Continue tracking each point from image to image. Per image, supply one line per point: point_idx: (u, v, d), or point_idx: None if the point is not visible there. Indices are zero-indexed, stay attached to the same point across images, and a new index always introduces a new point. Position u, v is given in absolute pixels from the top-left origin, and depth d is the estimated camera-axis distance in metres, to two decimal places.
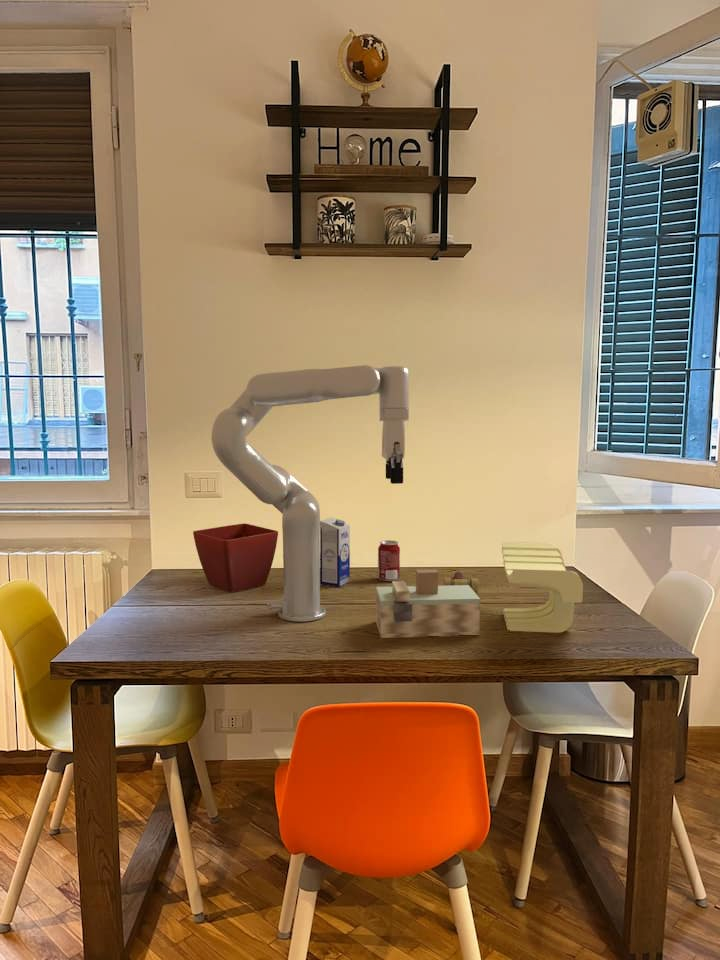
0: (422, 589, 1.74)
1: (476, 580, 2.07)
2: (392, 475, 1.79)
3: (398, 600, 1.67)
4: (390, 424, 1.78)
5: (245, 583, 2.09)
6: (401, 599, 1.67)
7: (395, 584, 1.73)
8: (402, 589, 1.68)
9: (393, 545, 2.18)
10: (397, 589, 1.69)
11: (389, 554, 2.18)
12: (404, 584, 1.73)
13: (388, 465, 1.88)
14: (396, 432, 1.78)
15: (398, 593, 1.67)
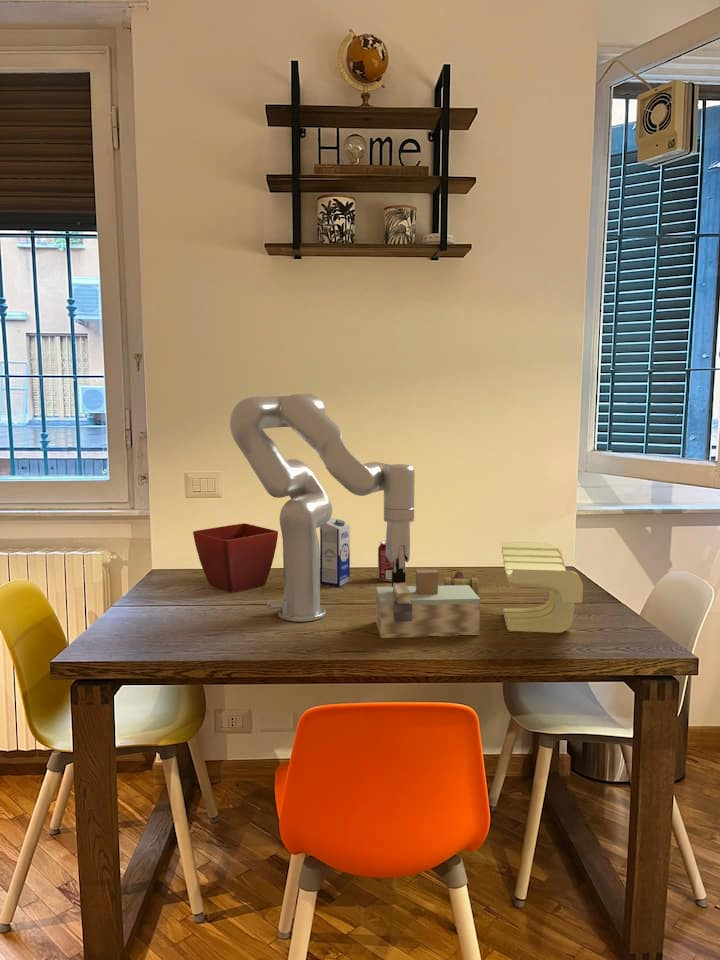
0: (422, 589, 1.74)
1: (476, 579, 2.07)
2: (394, 580, 1.75)
3: (399, 602, 1.66)
4: (395, 526, 1.70)
5: (245, 583, 2.09)
6: (401, 601, 1.66)
7: (396, 585, 1.72)
8: (403, 591, 1.67)
9: None
10: (398, 591, 1.67)
11: None
12: (405, 586, 1.71)
13: None
14: (401, 535, 1.70)
15: (399, 595, 1.66)
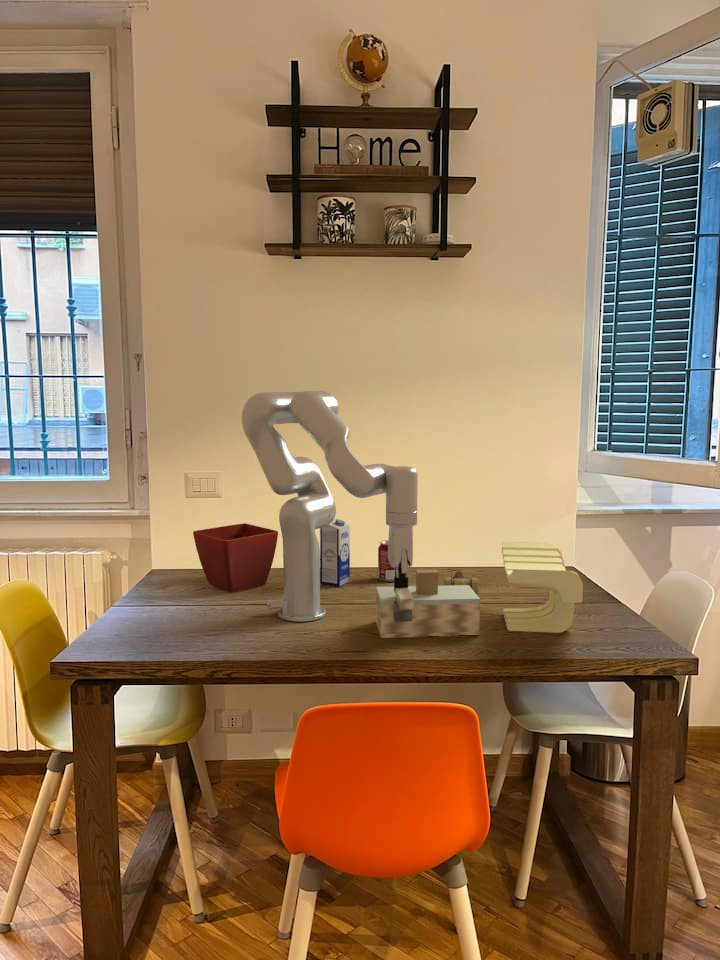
0: (422, 589, 1.74)
1: (476, 579, 2.08)
2: (396, 585, 1.71)
3: (402, 608, 1.61)
4: (398, 530, 1.65)
5: (245, 583, 2.09)
6: (404, 607, 1.61)
7: (398, 591, 1.67)
8: (406, 597, 1.62)
9: None
10: (400, 596, 1.62)
11: None
12: (408, 591, 1.67)
13: None
14: (404, 539, 1.65)
15: (402, 601, 1.61)
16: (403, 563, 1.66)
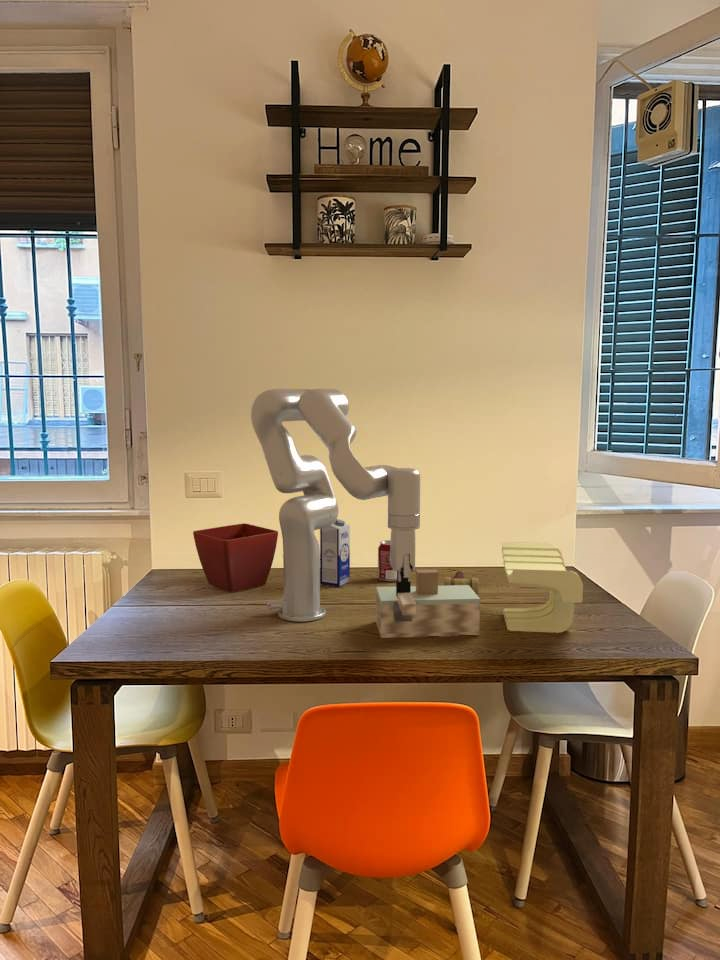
0: (422, 589, 1.74)
1: (476, 579, 2.08)
2: (398, 589, 1.67)
3: (404, 613, 1.57)
4: (400, 533, 1.61)
5: (245, 583, 2.09)
6: (407, 613, 1.57)
7: (400, 595, 1.63)
8: (408, 602, 1.59)
9: None
10: (403, 602, 1.59)
11: (389, 554, 2.18)
12: (410, 596, 1.63)
13: None
14: (406, 543, 1.61)
15: (404, 606, 1.57)
16: (405, 567, 1.62)
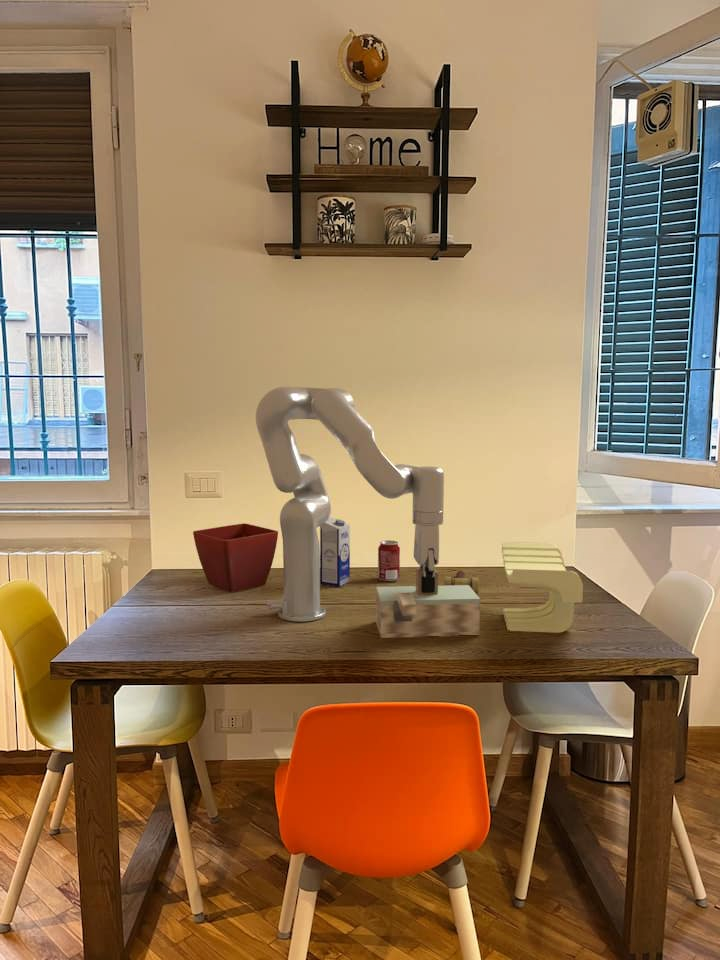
0: None
1: (477, 579, 2.08)
2: (423, 584, 1.73)
3: (404, 614, 1.57)
4: (424, 529, 1.69)
5: (245, 583, 2.09)
6: (407, 613, 1.57)
7: (401, 596, 1.63)
8: (408, 602, 1.58)
9: (393, 545, 2.18)
10: (403, 602, 1.58)
11: (389, 554, 2.18)
12: (410, 596, 1.63)
13: None
14: (430, 538, 1.69)
15: (404, 606, 1.57)
16: None
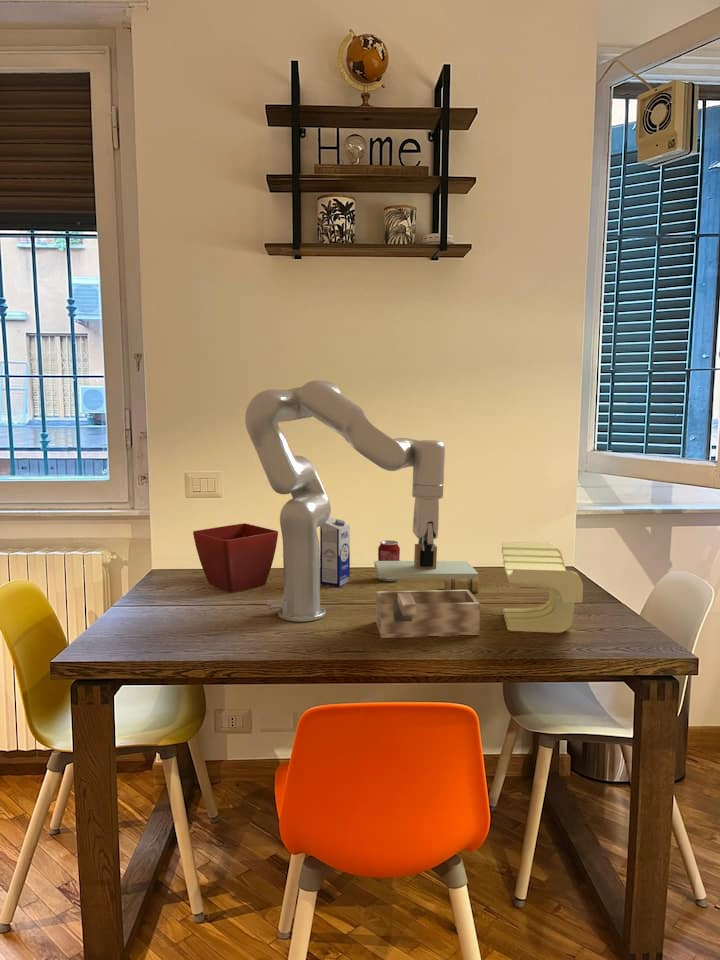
0: None
1: (477, 579, 2.08)
2: (422, 558, 1.73)
3: (404, 614, 1.57)
4: (424, 502, 1.68)
5: (245, 583, 2.09)
6: (407, 613, 1.57)
7: (401, 596, 1.63)
8: (408, 602, 1.58)
9: (393, 545, 2.18)
10: (403, 602, 1.58)
11: (389, 554, 2.18)
12: (410, 596, 1.63)
13: None
14: (430, 511, 1.68)
15: (404, 606, 1.57)
16: None
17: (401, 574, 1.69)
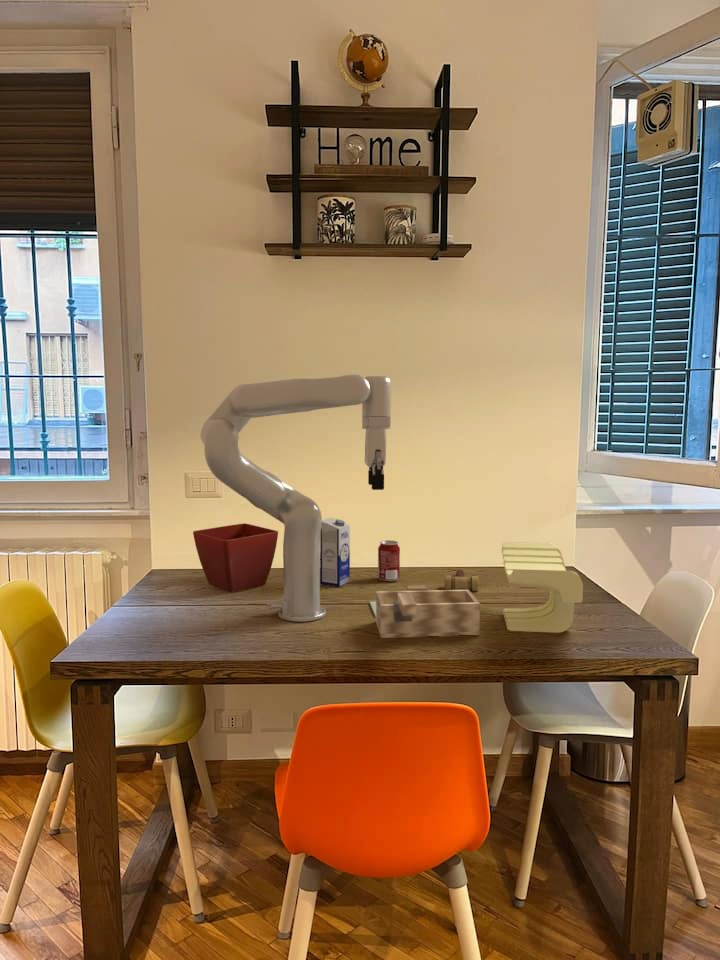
0: None
1: (476, 578, 2.10)
2: (373, 481, 1.84)
3: (404, 614, 1.57)
4: (372, 432, 1.83)
5: (245, 583, 2.09)
6: (407, 613, 1.57)
7: (401, 596, 1.63)
8: (408, 602, 1.58)
9: (393, 545, 2.18)
10: (403, 602, 1.58)
11: (389, 554, 2.18)
12: (410, 596, 1.63)
13: (371, 471, 1.93)
14: (377, 440, 1.83)
15: (404, 606, 1.57)
16: (377, 462, 1.84)
17: None
